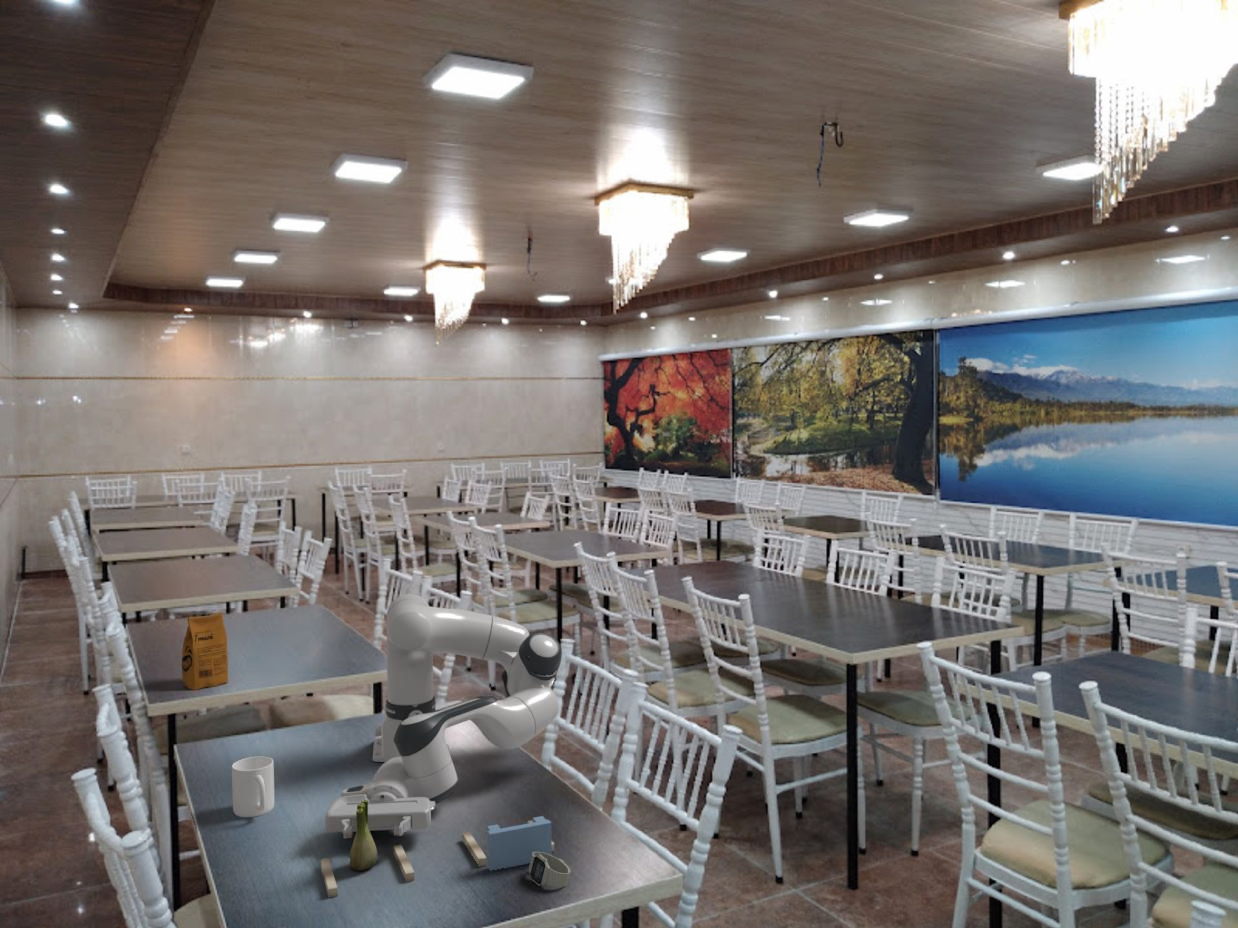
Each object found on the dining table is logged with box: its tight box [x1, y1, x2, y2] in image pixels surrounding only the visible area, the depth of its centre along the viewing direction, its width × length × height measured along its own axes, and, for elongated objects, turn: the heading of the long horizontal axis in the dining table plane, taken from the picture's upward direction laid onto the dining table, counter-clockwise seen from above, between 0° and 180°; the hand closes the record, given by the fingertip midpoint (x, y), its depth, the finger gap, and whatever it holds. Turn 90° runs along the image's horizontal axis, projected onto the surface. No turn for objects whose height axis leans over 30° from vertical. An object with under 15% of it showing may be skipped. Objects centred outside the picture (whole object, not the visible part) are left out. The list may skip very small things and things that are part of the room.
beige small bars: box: [319, 819, 555, 898], centre depth 180 cm, size 12×42×2 cm, turn 114°
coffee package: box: [181, 611, 229, 691], centre depth 296 cm, size 10×12×22 cm
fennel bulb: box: [349, 800, 378, 872], centre depth 177 cm, size 6×5×12 cm
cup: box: [231, 755, 275, 818], centre depth 202 cm, size 8×12×10 cm
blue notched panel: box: [486, 815, 553, 872], centre depth 180 cm, size 4×12×7 cm, turn 114°
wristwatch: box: [528, 852, 571, 889], centre depth 173 cm, size 9×6×5 cm
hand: (372, 833), depth 180 cm, fingers open, 8 cm apart
